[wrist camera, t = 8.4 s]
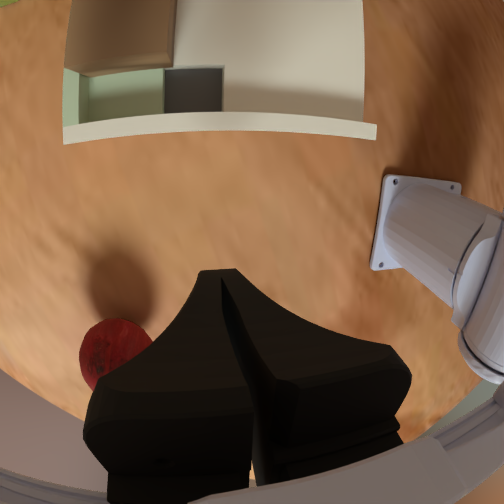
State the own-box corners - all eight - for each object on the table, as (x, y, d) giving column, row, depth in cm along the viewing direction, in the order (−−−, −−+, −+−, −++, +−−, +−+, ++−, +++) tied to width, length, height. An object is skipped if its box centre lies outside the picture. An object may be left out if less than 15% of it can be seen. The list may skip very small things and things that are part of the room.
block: (178, -5, 12) (174, -34, 8) (173, 67, 14) (166, 51, 10) (97, 6, 11) (76, -18, 8) (90, 77, 13) (63, 67, 10)
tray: (350, -20, 14) (371, -35, 11) (351, 136, 19) (375, 140, 16) (96, -29, 11) (84, -49, 8) (82, 140, 16) (63, 144, 13)
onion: (81, 302, 20) (49, 376, 13) (149, 293, 21) (136, 371, 14) (106, 357, 23) (91, 431, 16) (168, 350, 24) (167, 429, 16)
